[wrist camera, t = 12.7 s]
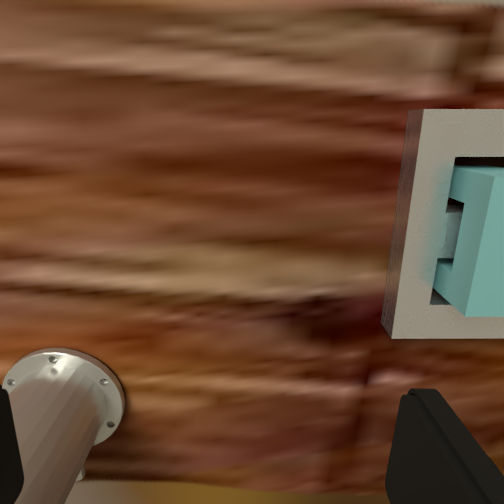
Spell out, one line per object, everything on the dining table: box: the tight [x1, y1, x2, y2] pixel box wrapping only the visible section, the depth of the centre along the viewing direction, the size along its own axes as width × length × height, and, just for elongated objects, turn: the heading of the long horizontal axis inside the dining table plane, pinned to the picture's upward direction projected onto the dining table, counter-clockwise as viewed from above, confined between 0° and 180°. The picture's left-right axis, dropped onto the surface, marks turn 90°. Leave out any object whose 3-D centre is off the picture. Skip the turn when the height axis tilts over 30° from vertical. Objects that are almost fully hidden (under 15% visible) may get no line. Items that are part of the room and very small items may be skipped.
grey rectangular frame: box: [381, 109, 504, 339], centre depth 33 cm, size 20×12×3 cm, turn 0°
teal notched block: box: [433, 165, 504, 317], centre depth 31 cm, size 11×4×7 cm, turn 0°
